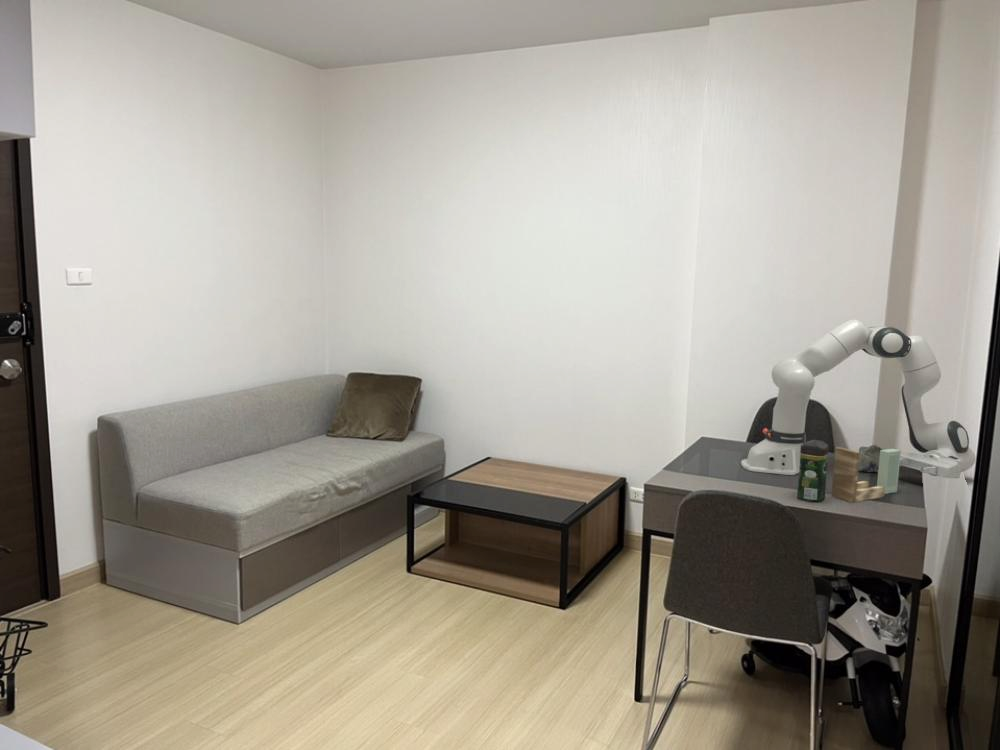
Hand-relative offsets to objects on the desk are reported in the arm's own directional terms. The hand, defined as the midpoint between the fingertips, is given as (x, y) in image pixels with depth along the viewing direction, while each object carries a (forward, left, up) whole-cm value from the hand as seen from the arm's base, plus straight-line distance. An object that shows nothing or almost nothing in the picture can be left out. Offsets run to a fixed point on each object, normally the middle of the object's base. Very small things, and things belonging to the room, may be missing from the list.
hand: (909, 466), depth 255 cm
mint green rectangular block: (-9, -6, -8) cm, 13 cm away
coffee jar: (-36, -17, -8) cm, 40 cm away
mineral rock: (-4, +19, -8) cm, 21 cm away
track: (-20, -13, -7) cm, 25 cm away
